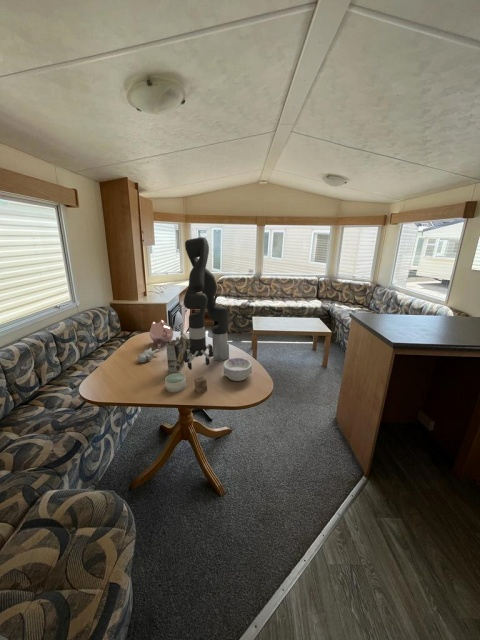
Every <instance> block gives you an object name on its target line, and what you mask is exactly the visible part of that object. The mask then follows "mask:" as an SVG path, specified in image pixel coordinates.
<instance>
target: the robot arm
mask: <svg viewBox="0 0 480 640" xmlns="http://www.w3.org/2000/svg"><path fill="white" fill-rule="evenodd" d="M184 247H185V251H186V254H187V255H186V256H187V257H188V259H189V261H190V263H191V266H192V269H191V270H190V272H189V278H188V287H187V290H186V292H185V294H184V296H183V306H184V307H185V309H188V310H199V311H198V312H193V313H191V314H190V315H189V316H188V327H189V328H188V334H189V335H188V339H189V341H190V348H189V349H187V350H186V349H183V361H184V364H186V363H187V368H188V369H189V371H193V366H192V361H193V360H194V359H195V358H197V357H203V356H204V357H205V365H206V366H207V367H208V366H210V364H211V363H210V359H211V358H213V360H214V361H218V362H220V361H227V360H228V359H230V346H229V345H230V344H229V342H228V327H229V310H228V308H227V307H226V306H220V305H217V304H216V300H215V297H216V294H217V291H218V284H217V281H216V278H215V276H214V274H213V273H212V272H211V271H210V270H209V269H207V268H206V267H207V264H208V258H209V253H210V247H209V242H208V240H207V238H206V237H205V236H200V237H195V238H190V239H186V240H185V241H184ZM206 311H207V314H208V315H207V316H208V318H209V319H210V320H211V321H213V322H217V323H218V325H215V326H213V327H212V330H211V335H212V337H211V338H212V344H211V343H209V344H207V341H206V340H207V339H206V338H207V333H206V326H205V315H206ZM207 350H208V353H207V352H206V351H207ZM189 352H190V355H189V357H188V358H187V354H188V353H189ZM192 355H193V356H192Z"/></svg>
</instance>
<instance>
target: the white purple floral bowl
mask: <svg viewBox="0 0 480 640" xmlns="http://www.w3.org/2000/svg"><path fill="white" fill-rule="evenodd" d="M252 369H253V364H252V362H251V361H250V360H249V359H248V358H243V357H233V358H227V359H226V360H224V363H223V374H224V375H225V377H228V379H229V380H230V381H233V382H241V381H244V380H245V379H247V377H249V376H250V375H251V374H252V372H253V371H252Z"/></svg>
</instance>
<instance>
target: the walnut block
mask: <svg viewBox="0 0 480 640" xmlns="http://www.w3.org/2000/svg"><path fill="white" fill-rule="evenodd" d="M207 388H208V386H207V379H206V378H205V376H204V375H202V376H198V377H194V389H195V391H196V393H198V394H199V393H204V392H207V391H208V389H207Z"/></svg>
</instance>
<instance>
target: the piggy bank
mask: <svg viewBox="0 0 480 640" xmlns="http://www.w3.org/2000/svg"><path fill="white" fill-rule="evenodd" d="M150 327H151V328H150V330H149V338H150V339H151V341H152V344H153V345H157V348H162V347H163V345H166V344H168V343H170V342H171V341H172V340H173V339H174V338H173V337H174V331H173V328H172V327H171V326H170V325H169V324H168V323H166V322H165V320H162V319H161V320H160V321H159V322H156V321H152V323H151V326H150Z"/></svg>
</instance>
